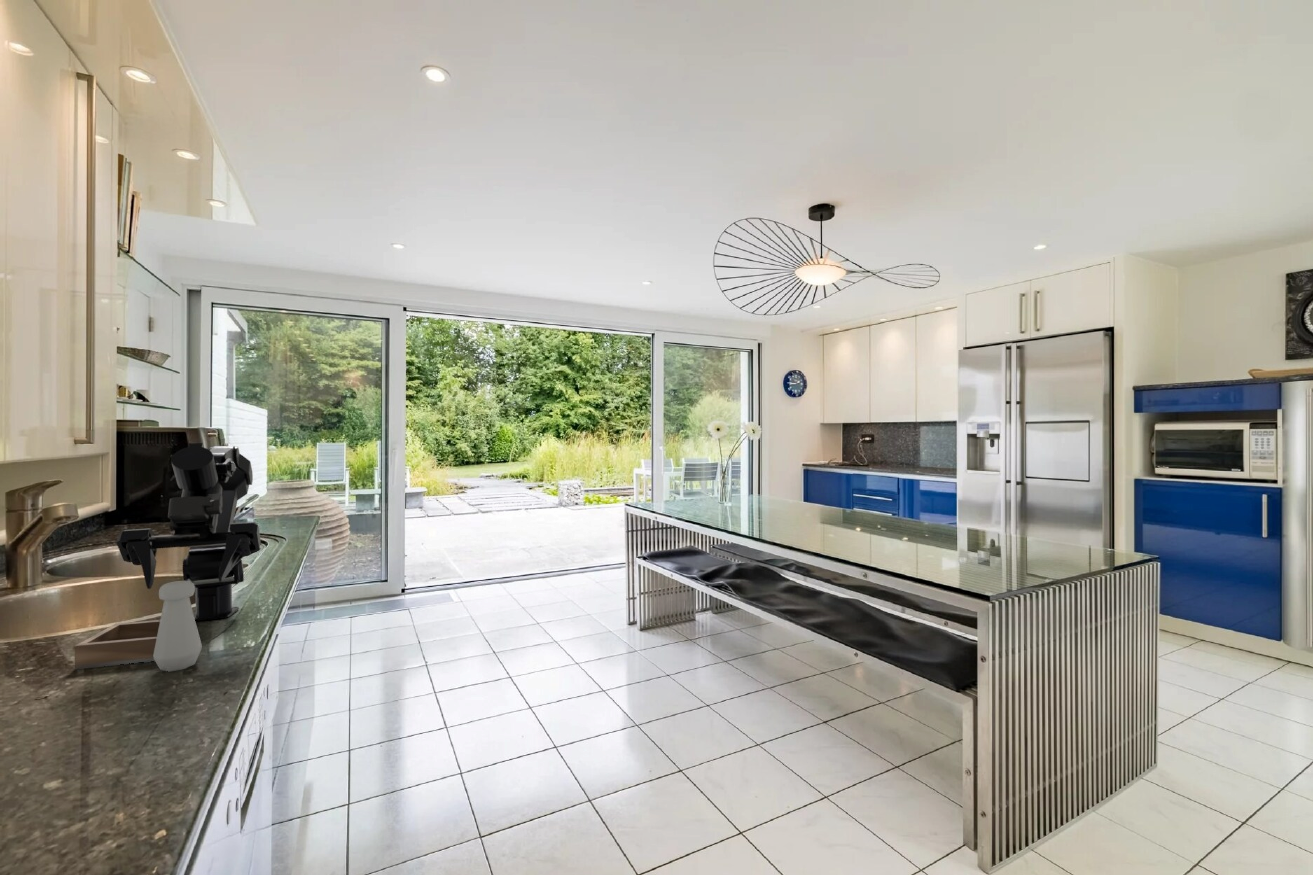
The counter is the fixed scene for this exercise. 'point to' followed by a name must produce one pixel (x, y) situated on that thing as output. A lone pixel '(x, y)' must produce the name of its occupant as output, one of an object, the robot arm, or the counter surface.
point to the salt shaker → (177, 628)
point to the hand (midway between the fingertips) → (185, 583)
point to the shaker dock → (118, 645)
